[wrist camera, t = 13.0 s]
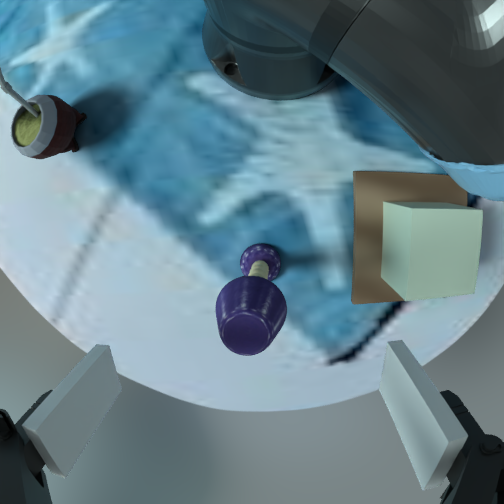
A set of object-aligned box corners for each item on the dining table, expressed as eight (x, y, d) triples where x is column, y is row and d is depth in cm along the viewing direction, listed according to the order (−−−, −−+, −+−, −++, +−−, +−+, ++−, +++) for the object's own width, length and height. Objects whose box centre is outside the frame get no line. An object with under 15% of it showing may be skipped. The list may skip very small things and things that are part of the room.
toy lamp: (228, 267, 33) (191, 348, 17) (249, 229, 32) (229, 281, 16) (268, 289, 34) (265, 383, 18) (290, 252, 33) (308, 323, 16)
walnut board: (353, 171, 30) (355, 171, 29) (462, 176, 29) (467, 176, 28) (351, 300, 34) (353, 304, 33) (454, 292, 33) (458, 295, 32)
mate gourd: (59, 170, 32) (-33, 175, 17) (39, 121, 31) (-47, 110, 16) (102, 133, 31) (11, 117, 16) (79, 84, 29) (-5, 52, 15)
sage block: (383, 201, 30) (411, 208, 23) (446, 202, 29) (482, 210, 23) (380, 276, 32) (405, 301, 25) (442, 272, 31) (474, 293, 24)
